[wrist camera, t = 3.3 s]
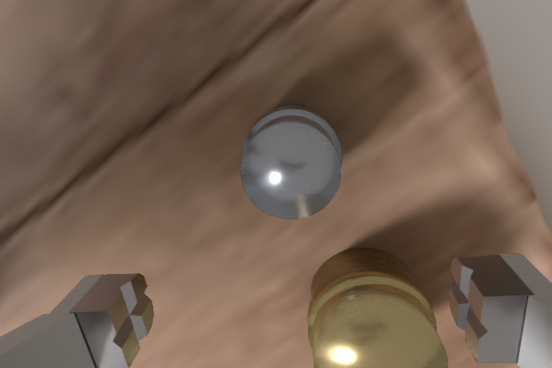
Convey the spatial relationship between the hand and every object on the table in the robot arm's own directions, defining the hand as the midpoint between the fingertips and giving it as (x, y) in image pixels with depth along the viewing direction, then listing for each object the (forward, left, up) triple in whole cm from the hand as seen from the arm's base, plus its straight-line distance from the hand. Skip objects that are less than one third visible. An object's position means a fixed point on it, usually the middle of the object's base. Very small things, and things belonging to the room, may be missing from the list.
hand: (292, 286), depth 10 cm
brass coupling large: (+4, -12, -15) cm, 20 cm away
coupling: (0, 0, -15) cm, 15 cm away
